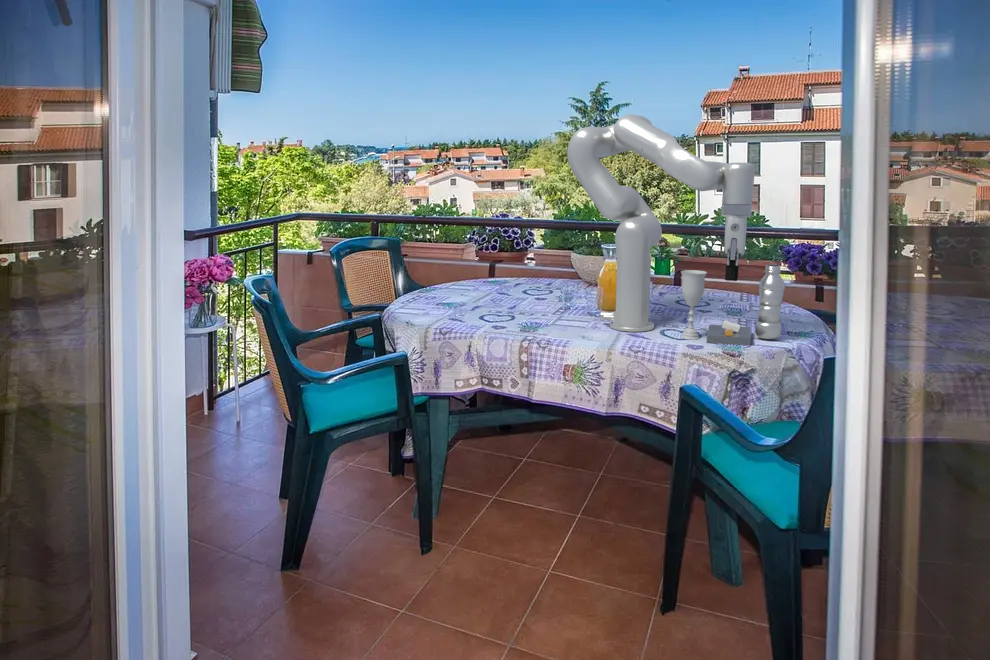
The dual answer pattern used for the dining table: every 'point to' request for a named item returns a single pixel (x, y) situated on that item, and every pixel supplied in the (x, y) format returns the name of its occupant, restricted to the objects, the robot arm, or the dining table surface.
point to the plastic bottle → (770, 303)
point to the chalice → (692, 297)
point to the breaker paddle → (730, 326)
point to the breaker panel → (728, 335)
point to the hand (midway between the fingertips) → (731, 280)
